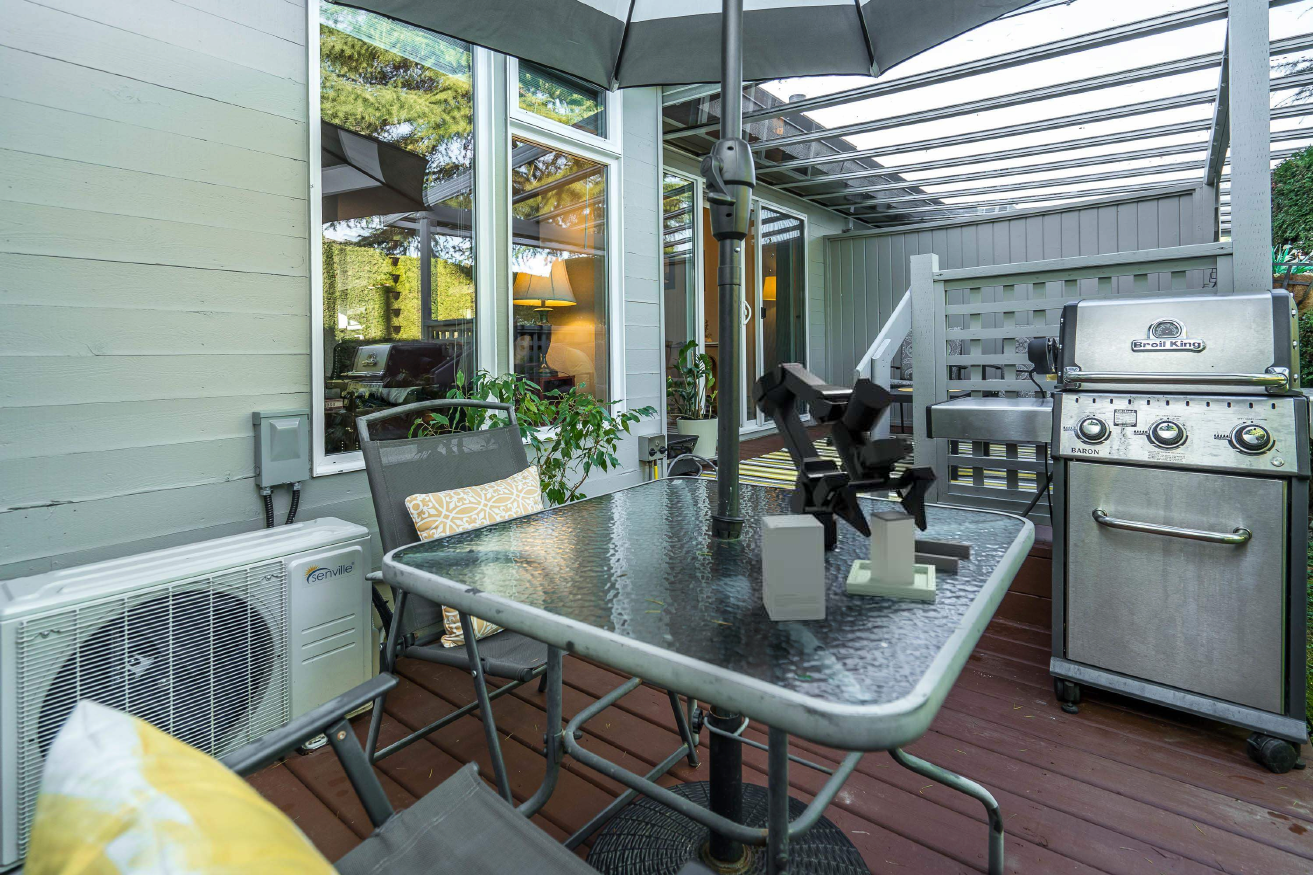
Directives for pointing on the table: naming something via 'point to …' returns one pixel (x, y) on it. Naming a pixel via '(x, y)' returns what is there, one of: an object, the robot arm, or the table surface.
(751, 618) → the table surface
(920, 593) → the tray
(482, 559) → the table surface
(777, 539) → the supplement box
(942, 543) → the cradle
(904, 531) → the tall cream pillar
